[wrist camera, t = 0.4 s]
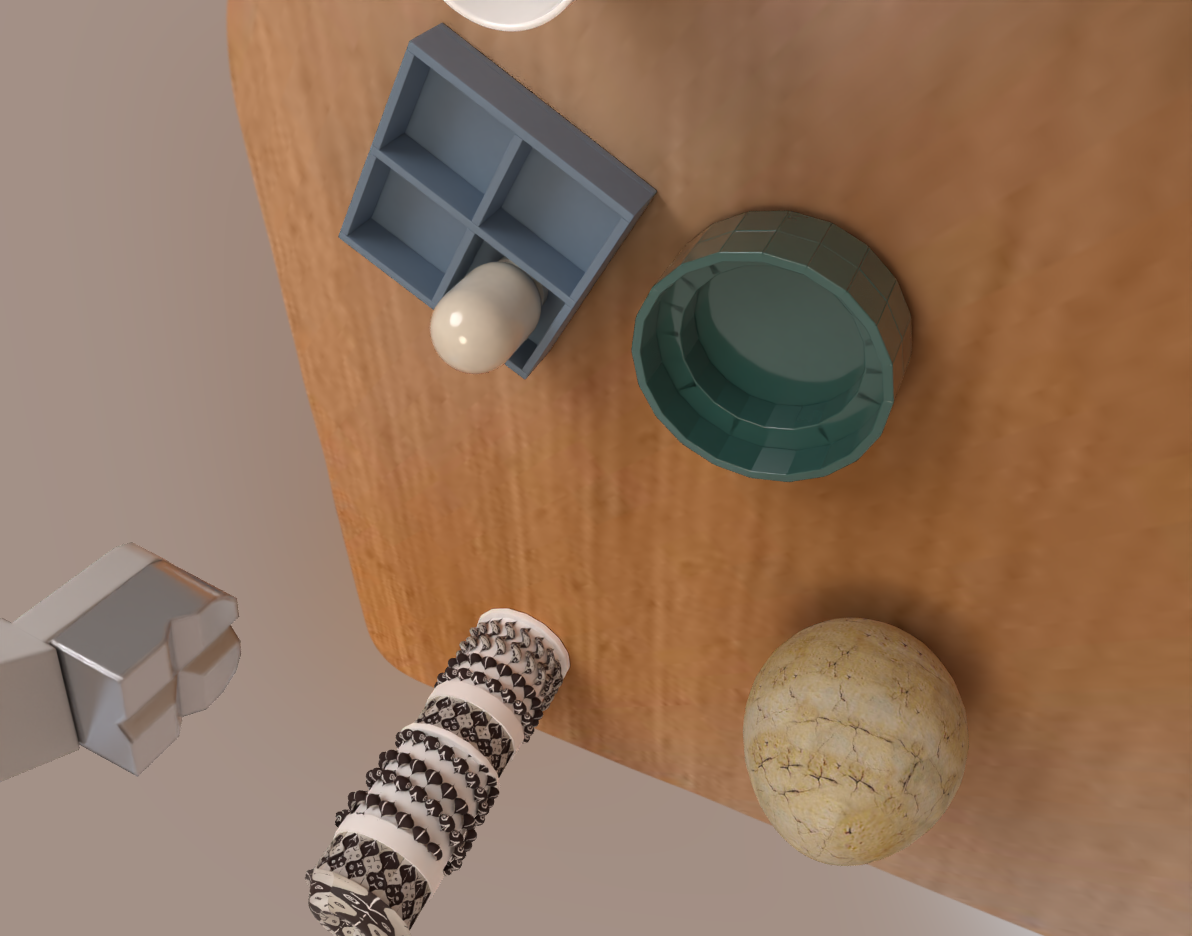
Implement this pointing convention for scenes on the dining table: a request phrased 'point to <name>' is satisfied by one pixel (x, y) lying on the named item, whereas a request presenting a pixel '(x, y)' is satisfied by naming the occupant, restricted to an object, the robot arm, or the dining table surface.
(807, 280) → the bowl
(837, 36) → the dining table surface
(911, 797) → the fossilized egg
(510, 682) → the decorative candle
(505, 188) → the divided tray
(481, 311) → the cream capsule
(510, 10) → the white cup
